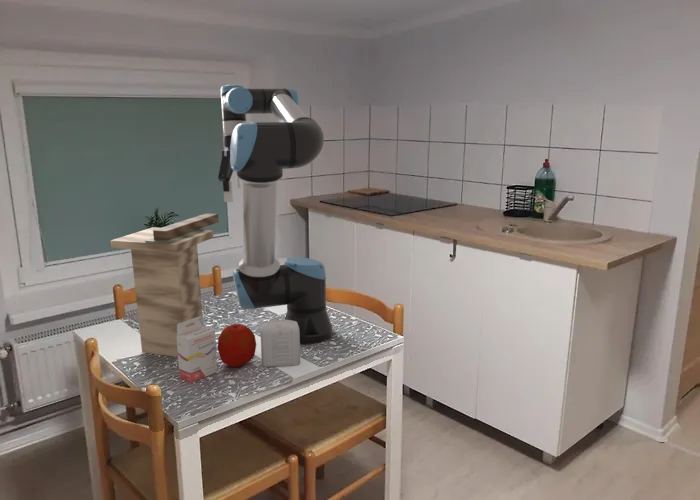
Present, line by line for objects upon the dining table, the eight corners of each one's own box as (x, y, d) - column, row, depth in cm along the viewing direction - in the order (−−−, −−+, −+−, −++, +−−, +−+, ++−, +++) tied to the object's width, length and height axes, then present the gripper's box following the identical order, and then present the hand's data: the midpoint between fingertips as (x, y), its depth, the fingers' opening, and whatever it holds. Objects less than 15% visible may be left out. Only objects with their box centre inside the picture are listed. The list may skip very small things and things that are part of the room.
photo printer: (300, 359, 153) (298, 316, 150) (301, 365, 149) (299, 321, 146) (261, 361, 151) (259, 318, 148) (261, 368, 147) (259, 324, 144)
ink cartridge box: (192, 384, 139) (187, 328, 136) (179, 379, 142) (174, 324, 139) (218, 371, 146) (214, 318, 143) (205, 366, 149) (201, 314, 145)
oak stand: (162, 332, 172) (152, 226, 164) (220, 339, 167) (212, 229, 159) (123, 356, 156) (110, 239, 148) (186, 365, 150) (176, 243, 142)
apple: (244, 374, 144) (241, 332, 141) (210, 369, 147) (207, 327, 145) (263, 359, 153) (261, 319, 150) (232, 353, 157) (229, 314, 154)
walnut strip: (206, 221, 170) (206, 213, 170) (218, 222, 169) (218, 213, 169) (153, 239, 146) (153, 230, 146) (167, 240, 145) (166, 231, 144)
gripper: (243, 135, 196) (247, 196, 199) (203, 134, 172) (208, 203, 176) (263, 135, 193) (266, 196, 197) (225, 133, 170) (229, 203, 174)
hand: (239, 200), depth 187 cm, fingers open, 13 cm apart
